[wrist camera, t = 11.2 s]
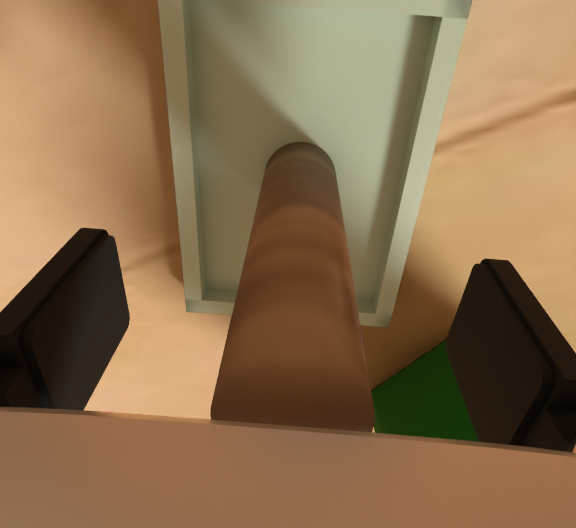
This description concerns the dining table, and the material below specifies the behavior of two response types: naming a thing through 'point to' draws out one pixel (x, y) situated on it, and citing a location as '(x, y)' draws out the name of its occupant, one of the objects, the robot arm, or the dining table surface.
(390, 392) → the milk carton
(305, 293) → the pin
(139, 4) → the dining table surface
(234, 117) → the tray
